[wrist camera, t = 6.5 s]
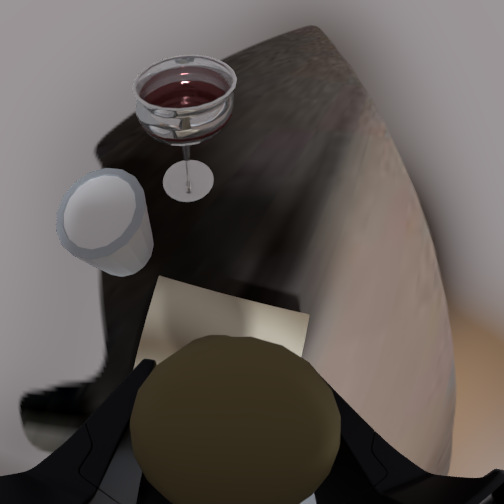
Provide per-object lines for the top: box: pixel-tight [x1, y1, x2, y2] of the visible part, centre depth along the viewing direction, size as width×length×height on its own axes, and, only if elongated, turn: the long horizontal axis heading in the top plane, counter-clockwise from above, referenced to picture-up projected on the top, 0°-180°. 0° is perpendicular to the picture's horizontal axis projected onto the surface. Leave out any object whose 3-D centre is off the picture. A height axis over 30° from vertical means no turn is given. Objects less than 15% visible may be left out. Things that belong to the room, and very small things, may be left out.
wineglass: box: [132, 55, 237, 202], centre depth 20 cm, size 7×7×12 cm
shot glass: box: [56, 168, 154, 277], centre depth 19 cm, size 7×7×7 cm
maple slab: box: [134, 276, 309, 368], centre depth 19 cm, size 12×12×2 cm
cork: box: [130, 335, 341, 504], centre depth 9 cm, size 6×6×11 cm
